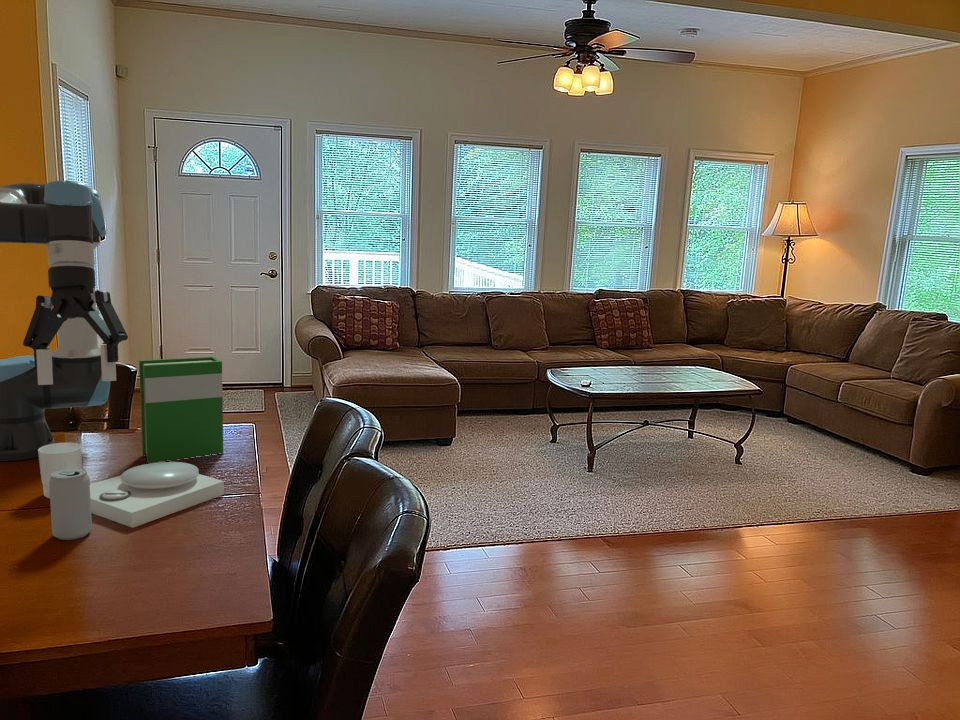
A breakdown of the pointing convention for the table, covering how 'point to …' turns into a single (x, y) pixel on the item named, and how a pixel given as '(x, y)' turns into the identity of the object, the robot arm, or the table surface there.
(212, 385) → the hardback book
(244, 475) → the table surface
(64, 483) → the beverage can
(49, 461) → the white cup
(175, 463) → the kitchen scale
